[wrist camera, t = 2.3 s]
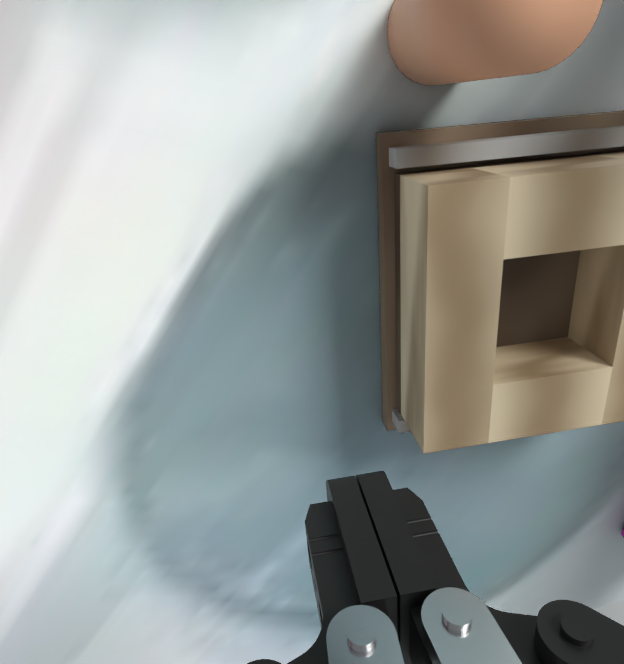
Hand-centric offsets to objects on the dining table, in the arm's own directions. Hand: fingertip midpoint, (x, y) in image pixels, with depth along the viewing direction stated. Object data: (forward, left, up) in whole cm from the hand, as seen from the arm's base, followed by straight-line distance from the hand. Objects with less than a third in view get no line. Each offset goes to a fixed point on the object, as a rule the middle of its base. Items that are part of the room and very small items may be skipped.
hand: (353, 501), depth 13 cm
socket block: (-12, 0, -13) cm, 18 cm away
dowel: (-8, -12, -15) cm, 20 cm away
